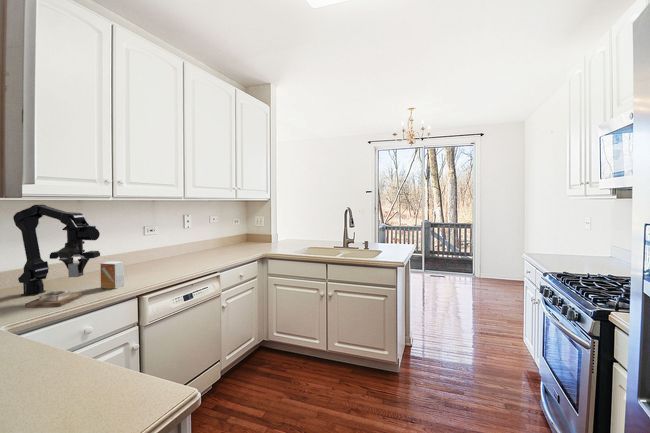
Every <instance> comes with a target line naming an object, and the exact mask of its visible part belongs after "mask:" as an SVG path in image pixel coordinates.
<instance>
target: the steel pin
mask: <svg viewBox="0 0 650 433" xmlns="http://www.w3.org/2000/svg"><path fill="white" fill-rule="evenodd" d="M67 270H68V273H67V274H68V278H80V277H82V276H84V271H83V272H82V273H80V270H79V262H73V263H71V264H68V269H67Z"/></svg>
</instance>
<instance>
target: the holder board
mask: <svg viewBox="0 0 650 433" xmlns="http://www.w3.org/2000/svg"><path fill="white" fill-rule="evenodd" d="M83 296H84V293H83V292H71V290H55V291H50V292H47V293H45V294H43V295H42V294H41V295H40V296H39V298H36V299H34V300H31V301H28V302H26V303H24V307H25V308H43V307H47V308H49V307H62V306H63V307H64V306H65V305H67V304H69V303H72V302H73V301H76V300H78V299H80V298H82V297H83Z"/></svg>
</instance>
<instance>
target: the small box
mask: <svg viewBox="0 0 650 433" xmlns="http://www.w3.org/2000/svg"><path fill="white" fill-rule="evenodd" d="M124 264H125V263H124V261H117V260H116V261H111V260H110V261H109V260H108V261H104V262H101V263H100V288H101V289H111V290H116V289H119V288H123V287H124V286H125V281H124V280H125V275H124V273H125V272H124V271H125V270H124V269H125V268H124V267H125V265H124Z"/></svg>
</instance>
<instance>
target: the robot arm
mask: <svg viewBox="0 0 650 433" xmlns="http://www.w3.org/2000/svg"><path fill="white" fill-rule="evenodd" d="M44 216H46V217H49V218H52V219H56V220H58V221H59V222H60V223H62V224H63V225H65V227H63V228H62V231H66V240H67V241H66V242H65V243H64V247H62V248H60V249H59V250H56V251H53V252H50V253H49V260H56V259H58V261H61V262H63V263H64V265H65V266H66V269H67V270H68V264H71V263H74V257H80V258H78V259H77V261H78V263H79V270H80V273H82V272H83V273H84V270H85V267H86V266H87V264H88V262H89V261H90V259H96V258H98V257H101V252H100V251H99V250H89V251H85V249H84V245H83V244H85V241H97V240H99V237H100V235H101V234H100V233H101V232H100V231H99V229H98V228H96V225H91V224H90V222H88V220H87V219H86V217H85V215H84V214H83V213H81V212H73V211H72V212H71V211H64V210H62V209H58V208H55V207H51V206H48V205H45V204H33V205H31V206H30V207H28V208H24V209H22V210H20V211H17V212H16V213H15V214H14V215H13V218H12V219H13V222H14V225H15V226H16V227H17V228H18V229H19V231H20V232H21V237H22V241H23V247H24V252H25V259H26V262H25V264H24V265H23V273H22V274H20V276H19V277H18V279H17V280H18V283H20V284H22V285H23V293H21V294H20V296H36V295H39V294H43V293H44V292H46V289H45V285H44V282H43V280H46V279H47V276H48V274H49V270H50V268H49V262H48V260H45V261H44V260H43V259H42V257H41V252H40V246H39V241H38V235H37V230H36V229H37V228H38V226H39V224H40V222H39V219H41V218H43V217H44Z"/></svg>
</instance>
